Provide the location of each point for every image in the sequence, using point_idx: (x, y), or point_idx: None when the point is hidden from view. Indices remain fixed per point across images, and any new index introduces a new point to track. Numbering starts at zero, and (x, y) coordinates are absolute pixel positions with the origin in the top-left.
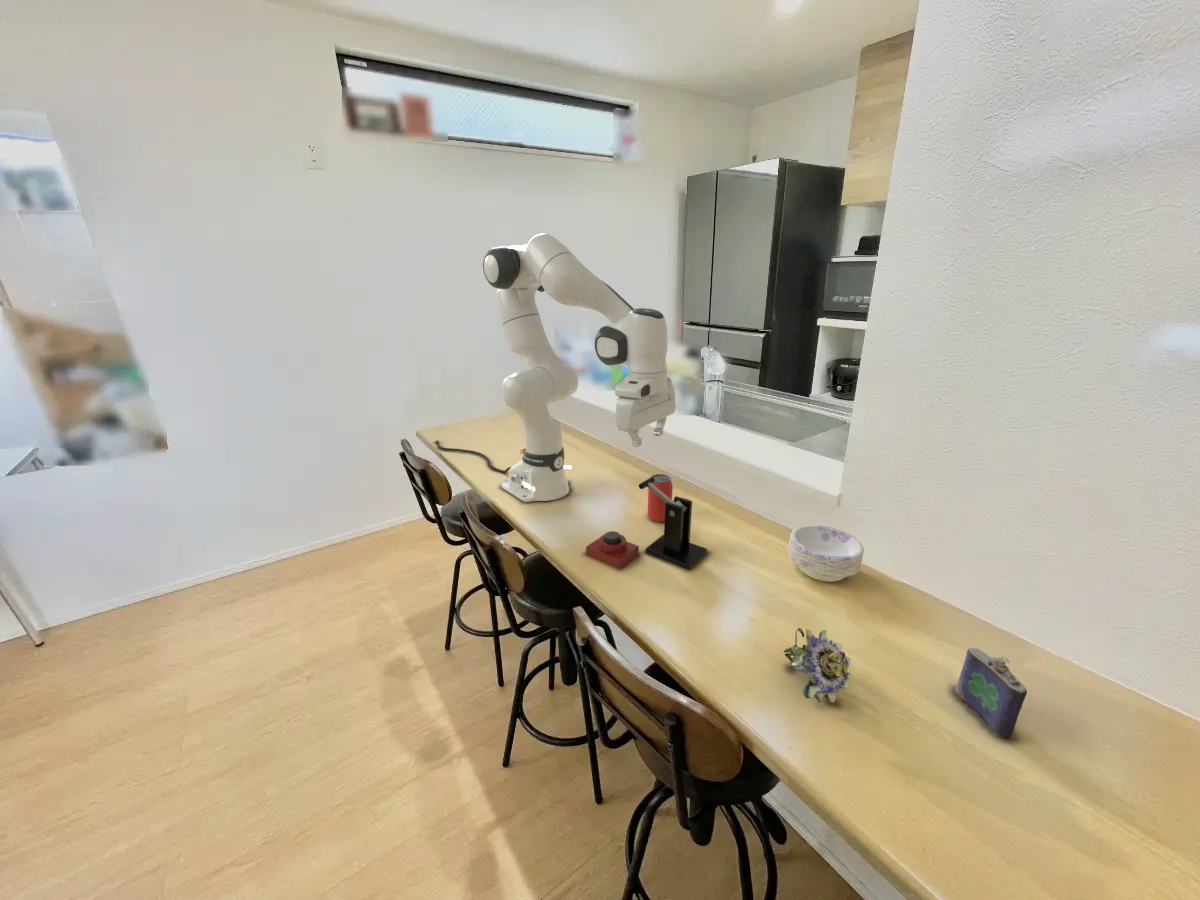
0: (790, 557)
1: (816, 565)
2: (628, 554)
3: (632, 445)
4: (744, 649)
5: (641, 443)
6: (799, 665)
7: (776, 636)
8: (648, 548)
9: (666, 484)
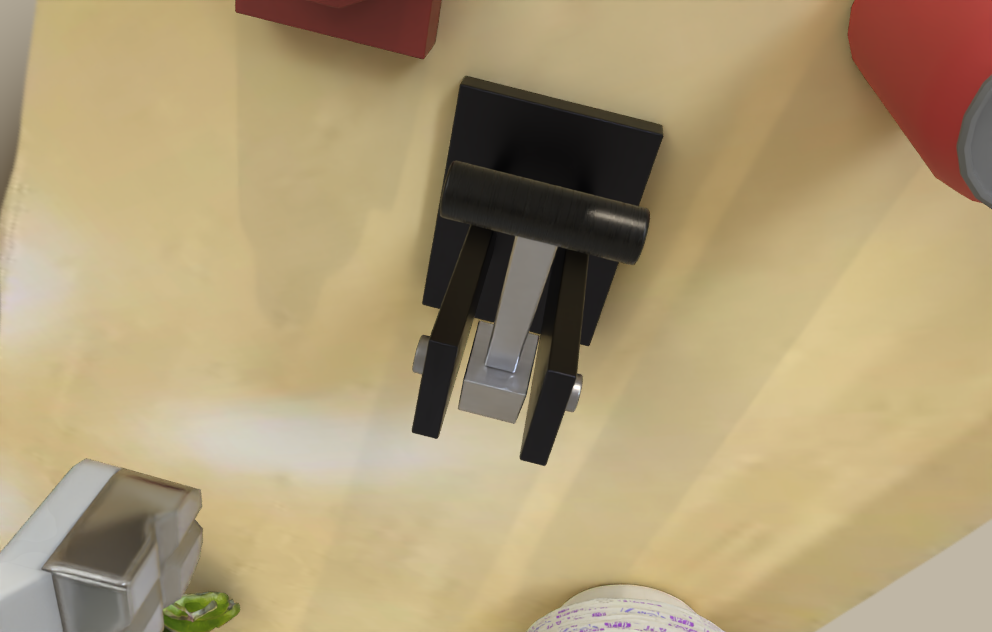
0: (582, 603)
1: None
2: (323, 32)
3: (86, 463)
4: (159, 469)
5: (184, 587)
6: None
7: (255, 524)
8: (466, 99)
9: (968, 191)
